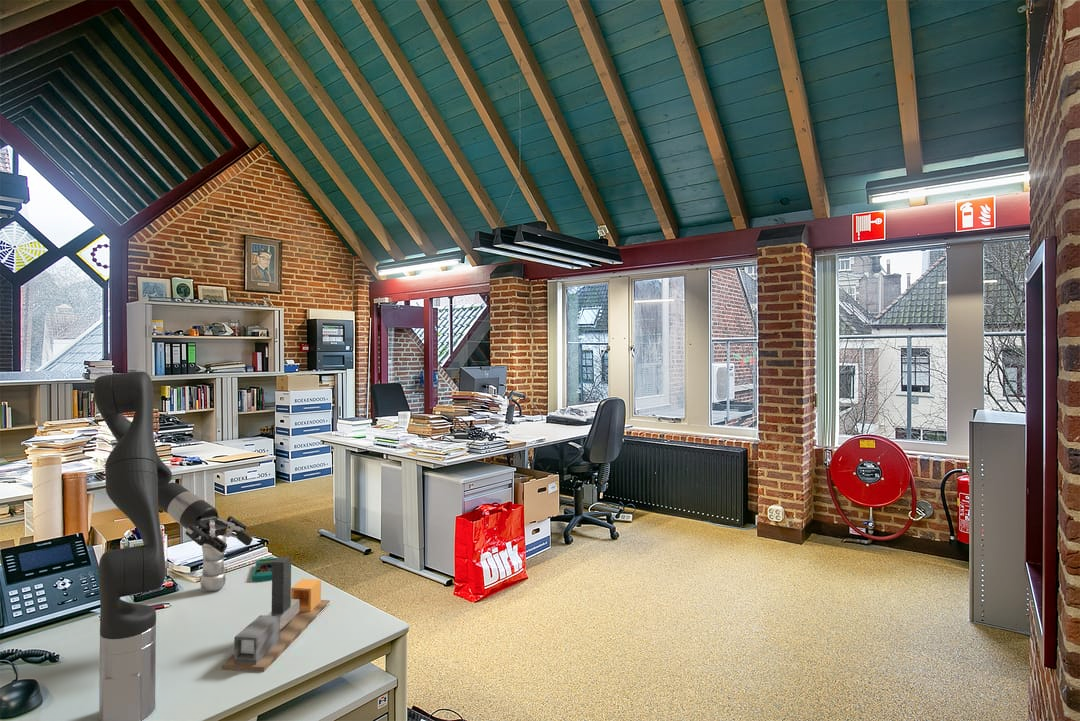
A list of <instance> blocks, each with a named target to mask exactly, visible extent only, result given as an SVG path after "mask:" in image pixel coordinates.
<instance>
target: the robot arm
mask: <svg viewBox="0 0 1080 721" xmlns="http://www.w3.org/2000/svg"><path fill="white" fill-rule="evenodd" d="M152 380H153V379H152V378H151V376H150V375H149V374H148V373H147V371H129V372H122V373H115V374H114V373H113V374H112V373H111V374H106V375H105V374H104V375H100V376H97V377H96V379H94V382H93V386H92V388H93V389H92V390H93V392H92V393H93V399H94V403H95V406H96V408H97V410H98V412H99V414H100V416H101V418H102V419H103V420H104V422H105V424H106V426H107V428H108V429H109V431H110V432H111V434H112V435H113V437H114V438H115V440H116V442H117V443H116V444H115V446H114V448H113V449H112V450H111V452H110V453H109V454H108V456H107V459H106V460H105V465H104V468H105V469H104V471H105V472H104V475H105V492H106V495H107V496H108V497H109V499H110V500H111V502H112V503H113V504H114V505H115V506H116V507H117V508H118V509H119V511H121V512H122V513H123V515H124V516H126V517H127V518H128V519H129V521H131V523H132V524H133V525H134V527H135V528H136V529H137V531H138V533H139V535H140V538H141V539H142V543H143V544H142V545H136V546H135V545H134V546H128V547H122V548H116V549H110V550H106V551H105V552H104V553H103V554H102V555H101V557H100V558H99V562H98V592H99V606H100V614H99V617H100V621H99V682H98V683H99V684H98V688H99V690H98V691H99V692H98V694H99V697H98V702H99V703H98V704H99V705H98V706H99V708H98V709H99V712H98V713H99V714H98V715H99V717H98V719H99V720H98V721H142V720H144V719H145V718H147V717H148V716H150V715H151V714H152V713H153V712H154V710H155V709H156V675H157V674H156V673H157V672H156V666H157V664H156V663H157V662H156V660H157V658H156V657H157V652H156V651H157V649H156V648H157V644H156V643H157V612H156V609H155V608H154V607H152V606H150V605H146V604H140V603H134V602H128V601H125V600H123V599H121V598H123V597H129V596H134V595H139V594H144V593H148V592H153V591H156V590H159V589H161V587H162V586H163V584H164V583H165V579H166V558H165V550H164V544H163V537H162V530H161V529H162V528H161V521H160V514H159V513H160V512H159V509H160V510H162V511H164V513H166V514H167V515H169V517H170V518H171V519H173V520H174V521H175V522H176V523H178V524H179V525H180V526H182V528H184V529H186V531H185V532H184V533H185V535H186V536H187V537H188V538H190V539H191V540H193V542H194V543H196V544H197V545H198V546H201V547H202V546H203V545H204V544H206V545H208V546H210V545H211V546H212V547H214V548H215V549H216V550H218V551H219V552H221V553H222V552H224V553H225V551H226V550H227V548H228V544H227V542H226V543H225V542H224V541H222V540H221V539H219V538H218V537H217V536H224V537H226V538H230V537H232V538H234V539H236V540H238V541H239V542H241V543H242V544H244V545H245V546H246V547H247V546H250V545H251V543H252V542H253V537H252V535H249V534H248V533H246V532H245V531H246V530H247V528H248V526H247V525H245V524H244V523H242V522H241V521H239V520H238V519H236V518H235V517H233V516H230V515H229V516H228V517H227V518H226V519H225V518H222V517H219V513H218V510H217V509H216V507H214V506H213V505H211V504H210V503H208V502H207V501H205V499H203V498H201V497H200V496H198V495H197V494H195V493H193V492H191V491H190V490H188V489H187V488H186V487H184V486H183V485H181V484H180V483H178V482H171V481H172V478H173V474H172V473H173V472H172V471H171V469H170V468H169V467H168V466H167V465H166V464H165V463H164V461H163V460H162V459H161V457H160V455H159V453H158V450H157V447H156V442H155V436H154V405H155V404H154V402H155V401H154V398H155V396H154V385H153V381H152ZM125 413H134V414H133V418H132V420H129V419H128V418H127V417H125V415H123V414H125ZM227 529H229V530H228V531H227Z"/></svg>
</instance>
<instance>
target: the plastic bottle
mask: <svg viewBox="0 0 1080 721" xmlns="http://www.w3.org/2000/svg"><path fill="white" fill-rule="evenodd" d="M217 537H218V538H219V539H221V540H222V541H224V542H225V543H226V544H227V537H224V536H217ZM201 550H202V560H203V561H202V574H201V577H200V582H199V583H200V588H201V589H202V590H203V591H204V592H215V591H219V590H221V589H222V588H224V586H225V585H226V580H227V579H226V573H225V563H224V562H225V552H222V553H221V552H219V551H218V550H216V549H215V548H214V547H212V546H211V545H210V546H208V545H206V544H204V545H203V546H201Z"/></svg>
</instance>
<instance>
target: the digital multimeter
mask: <svg viewBox="0 0 1080 721" xmlns="http://www.w3.org/2000/svg"><path fill="white" fill-rule="evenodd" d="M277 558H278V557H268V558H260V559H257V560H255V561H256V562H255V567H254V570H253V573H252V575H251V582H257V583H258V582H267V581H268V582H269V581H272V562H273V561H274V560H276V559H277Z"/></svg>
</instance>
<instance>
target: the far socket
mask: <svg viewBox="0 0 1080 721" xmlns="http://www.w3.org/2000/svg"><path fill="white" fill-rule="evenodd" d="M291 599H299V611H310V612H311V611H312V610H313V609H314V608H315V607H316V606H317V605H318V604H319V603H320V602H321V600H322V579H314V578H313V579H312V578H300V580H298V581H297V582H296V583H295V584H294V585H293V586H291Z"/></svg>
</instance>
